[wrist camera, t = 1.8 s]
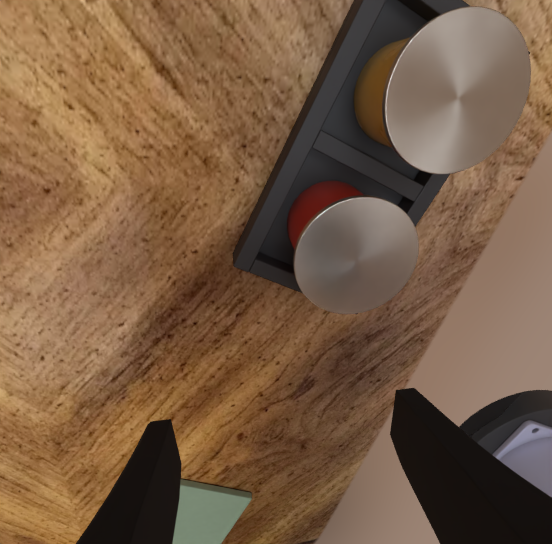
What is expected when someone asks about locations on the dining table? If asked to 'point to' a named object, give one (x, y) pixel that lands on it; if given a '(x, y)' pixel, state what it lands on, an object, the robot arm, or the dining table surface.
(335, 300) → the red pod
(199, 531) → the coaster
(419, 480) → the robot arm
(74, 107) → the dining table surface
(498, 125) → the gold coffee pod
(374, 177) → the pod holder
